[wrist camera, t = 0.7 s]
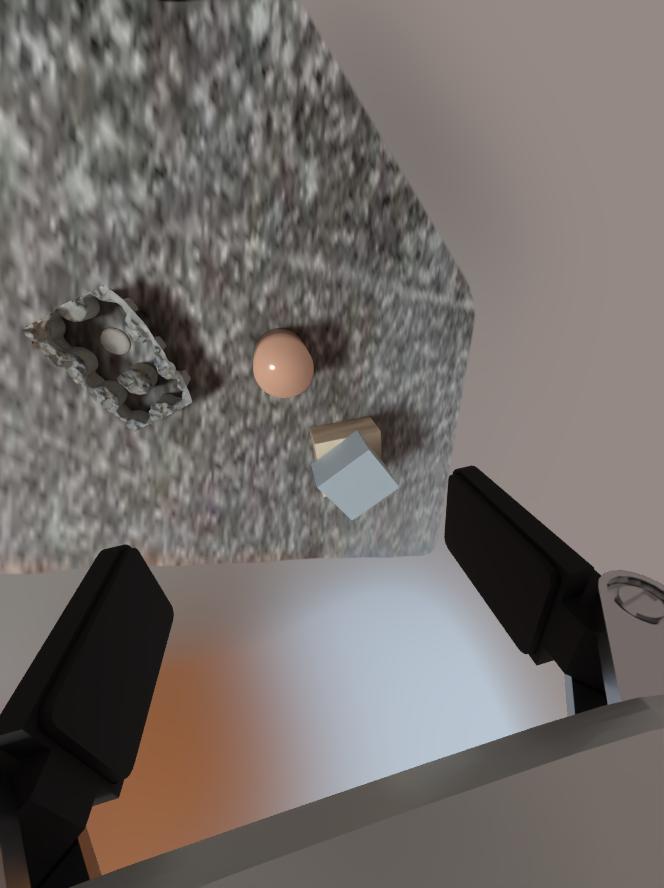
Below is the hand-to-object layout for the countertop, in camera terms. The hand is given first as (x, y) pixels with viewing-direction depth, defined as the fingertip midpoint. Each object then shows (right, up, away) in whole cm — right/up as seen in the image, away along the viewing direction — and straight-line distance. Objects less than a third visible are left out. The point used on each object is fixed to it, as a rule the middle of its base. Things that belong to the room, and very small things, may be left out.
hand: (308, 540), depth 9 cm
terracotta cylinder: (-4, +12, +21) cm, 24 cm away
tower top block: (+3, +1, +24) cm, 24 cm away
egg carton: (-17, +11, +18) cm, 27 cm away
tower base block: (+2, +3, +27) cm, 28 cm away
